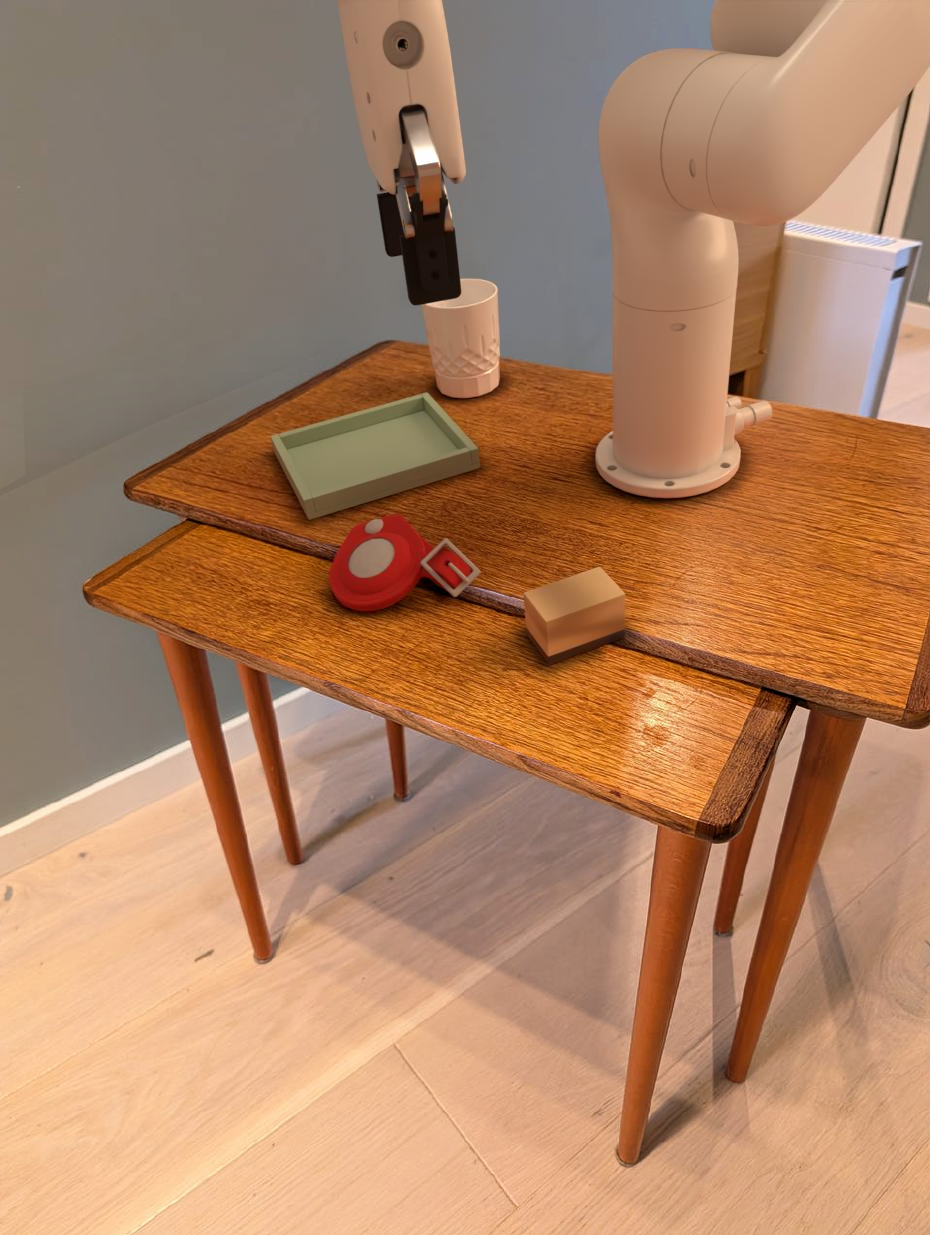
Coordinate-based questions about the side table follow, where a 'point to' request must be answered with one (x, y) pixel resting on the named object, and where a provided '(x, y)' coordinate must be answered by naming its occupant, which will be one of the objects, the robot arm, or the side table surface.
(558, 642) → the eraser
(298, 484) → the tray
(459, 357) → the white cup
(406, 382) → the side table surface
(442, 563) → the tracker holder
